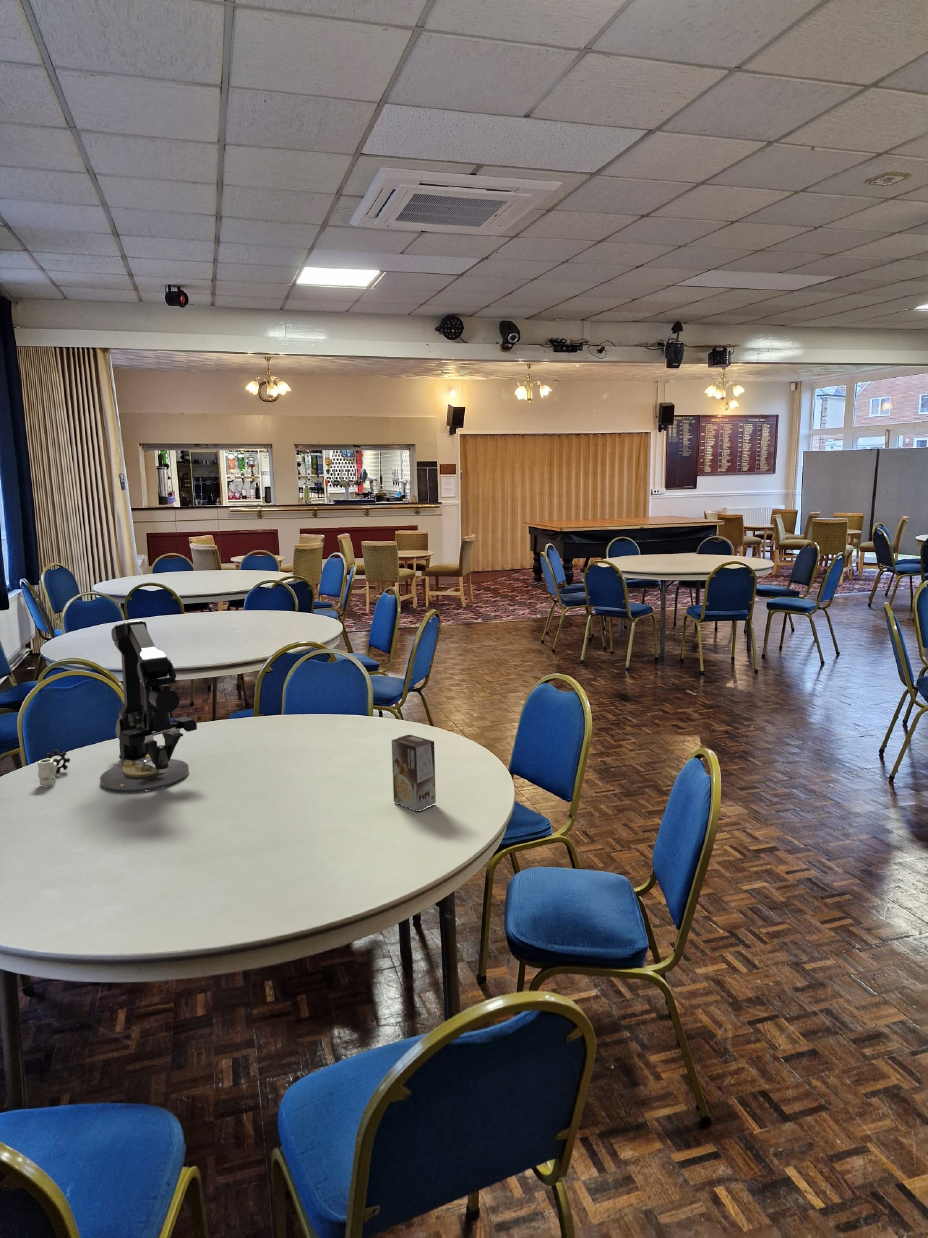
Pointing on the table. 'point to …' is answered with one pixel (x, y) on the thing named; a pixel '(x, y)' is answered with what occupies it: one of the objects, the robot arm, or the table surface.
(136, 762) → the cheese board
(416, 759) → the coffee box
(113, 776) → the base plate
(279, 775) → the table surface
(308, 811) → the table surface
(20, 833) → the table surface
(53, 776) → the valve
